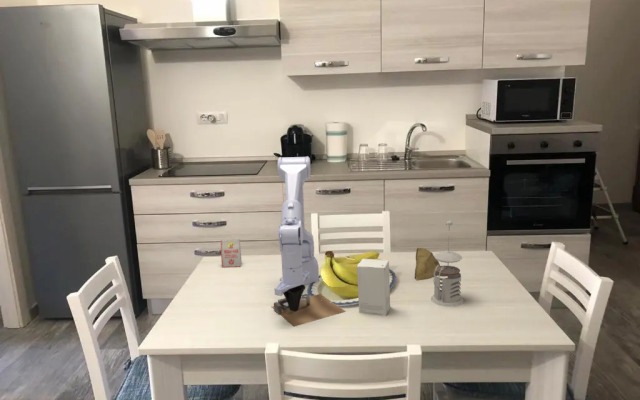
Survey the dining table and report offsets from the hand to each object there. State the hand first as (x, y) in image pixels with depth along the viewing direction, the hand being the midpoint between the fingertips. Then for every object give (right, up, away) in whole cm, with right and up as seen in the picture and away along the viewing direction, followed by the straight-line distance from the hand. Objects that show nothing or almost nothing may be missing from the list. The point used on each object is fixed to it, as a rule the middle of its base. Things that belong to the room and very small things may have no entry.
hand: (294, 310), depth 150 cm
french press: (+46, +1, +9) cm, 47 cm away
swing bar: (+1, 0, +4) cm, 4 cm away
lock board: (+4, -1, +4) cm, 6 cm away
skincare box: (+23, -1, +2) cm, 23 cm away
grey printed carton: (-25, +7, +44) cm, 51 cm away
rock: (+45, +5, +28) cm, 53 cm away
